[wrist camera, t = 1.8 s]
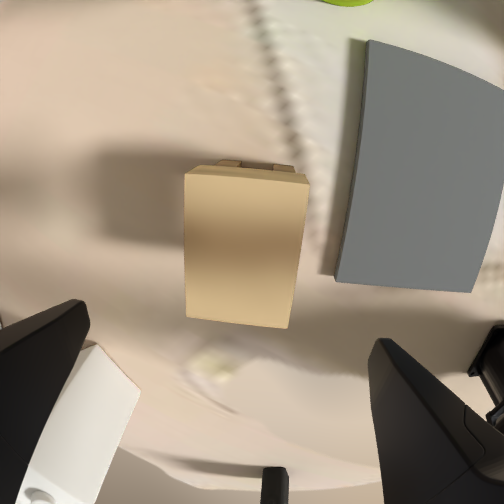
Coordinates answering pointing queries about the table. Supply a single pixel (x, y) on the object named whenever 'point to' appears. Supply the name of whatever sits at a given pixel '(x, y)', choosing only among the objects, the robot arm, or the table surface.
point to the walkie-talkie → (275, 486)
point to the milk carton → (80, 433)
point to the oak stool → (243, 242)
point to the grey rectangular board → (422, 174)
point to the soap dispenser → (348, 2)
